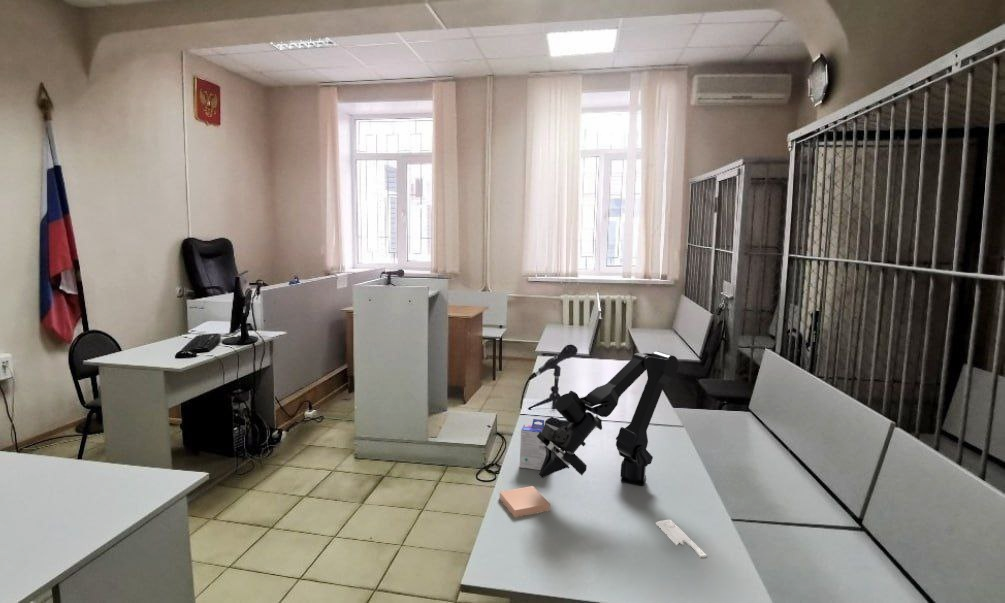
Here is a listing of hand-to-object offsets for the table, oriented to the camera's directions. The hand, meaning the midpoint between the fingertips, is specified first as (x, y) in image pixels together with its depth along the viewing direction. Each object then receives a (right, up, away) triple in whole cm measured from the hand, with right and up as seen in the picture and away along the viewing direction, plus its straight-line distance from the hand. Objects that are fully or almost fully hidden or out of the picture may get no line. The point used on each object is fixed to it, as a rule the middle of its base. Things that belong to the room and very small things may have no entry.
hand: (540, 476), depth 141 cm
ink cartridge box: (0, -4, +22) cm, 23 cm away
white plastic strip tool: (+32, -11, -14) cm, 37 cm away
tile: (0, -6, +1) cm, 6 cm away
